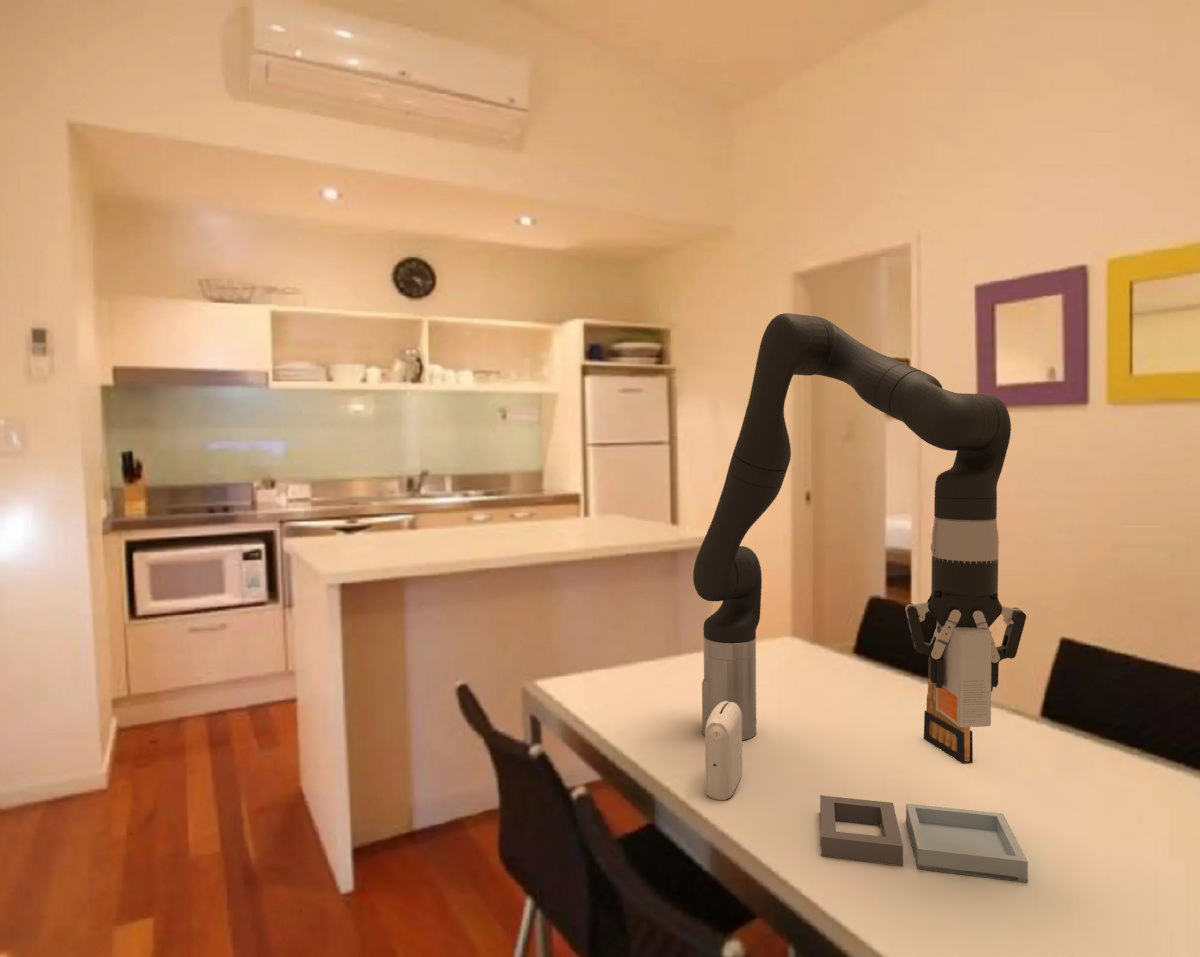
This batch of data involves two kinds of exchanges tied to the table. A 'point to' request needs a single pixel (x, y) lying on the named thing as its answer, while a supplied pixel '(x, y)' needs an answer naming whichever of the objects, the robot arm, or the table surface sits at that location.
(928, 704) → the ammunition clip
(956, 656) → the skincare box
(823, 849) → the holder
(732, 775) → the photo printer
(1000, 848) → the parts tray
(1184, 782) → the table surface
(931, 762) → the table surface
